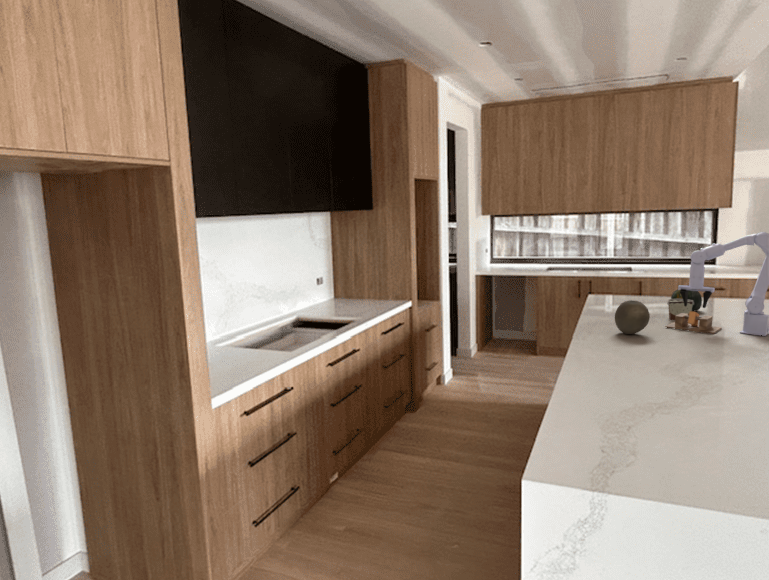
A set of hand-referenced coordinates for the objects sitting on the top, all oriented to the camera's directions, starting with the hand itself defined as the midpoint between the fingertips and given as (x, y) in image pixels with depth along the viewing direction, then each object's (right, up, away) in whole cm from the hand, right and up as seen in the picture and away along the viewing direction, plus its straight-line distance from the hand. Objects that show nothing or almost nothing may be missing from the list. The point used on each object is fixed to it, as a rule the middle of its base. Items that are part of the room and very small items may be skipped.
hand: (694, 306), depth 254 cm
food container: (+4, -7, +23) cm, 24 cm away
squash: (+20, -4, +44) cm, 49 cm away
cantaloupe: (-32, -12, -7) cm, 35 cm away
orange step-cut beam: (-1, -8, 0) cm, 8 cm away
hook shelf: (0, -10, +1) cm, 10 cm away
